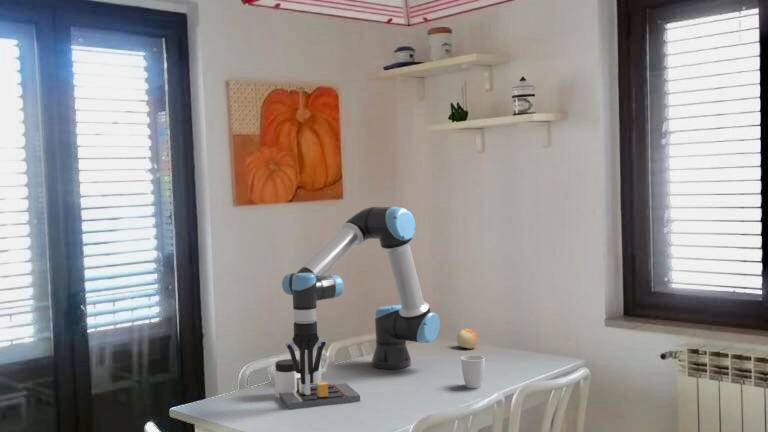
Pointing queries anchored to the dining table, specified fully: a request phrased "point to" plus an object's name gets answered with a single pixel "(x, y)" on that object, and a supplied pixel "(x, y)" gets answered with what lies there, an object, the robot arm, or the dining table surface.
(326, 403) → the panel
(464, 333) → the apple
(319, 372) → the mug
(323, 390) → the handle
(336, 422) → the dining table surface
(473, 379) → the cup
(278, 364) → the jar
